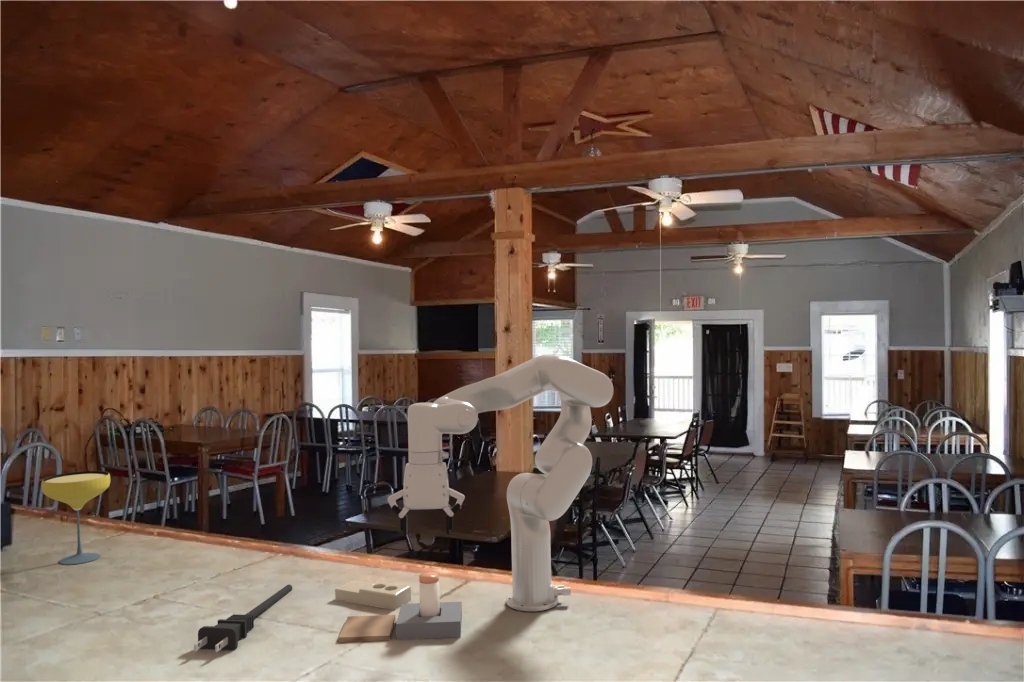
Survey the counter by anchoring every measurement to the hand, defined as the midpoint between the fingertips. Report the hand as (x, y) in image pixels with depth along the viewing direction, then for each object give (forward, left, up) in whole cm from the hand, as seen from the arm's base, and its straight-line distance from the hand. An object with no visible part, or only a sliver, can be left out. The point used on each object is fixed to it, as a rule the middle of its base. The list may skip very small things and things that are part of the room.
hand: (426, 533), depth 178 cm
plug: (0, 0, -22) cm, 22 cm away
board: (+14, 0, -22) cm, 26 cm away
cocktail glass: (+109, -63, -22) cm, 128 cm away
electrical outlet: (+15, -19, -22) cm, 33 cm away
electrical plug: (+42, -9, -22) cm, 48 cm away
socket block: (0, 0, -22) cm, 22 cm away
